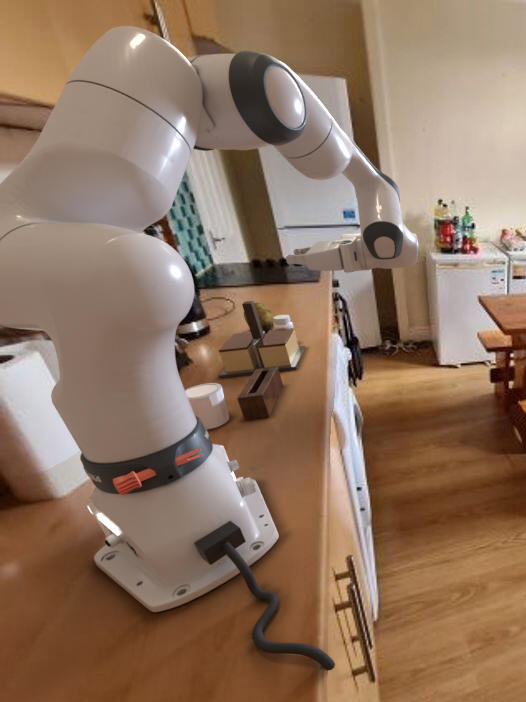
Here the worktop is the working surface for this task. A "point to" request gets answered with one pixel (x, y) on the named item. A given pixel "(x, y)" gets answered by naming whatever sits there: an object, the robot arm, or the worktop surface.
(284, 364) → the cake
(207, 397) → the white cylinder
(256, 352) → the knife
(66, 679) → the worktop surface
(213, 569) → the robot arm
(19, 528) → the worktop surface
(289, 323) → the pill bottle
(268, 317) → the kiwi fruit
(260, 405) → the knife block
